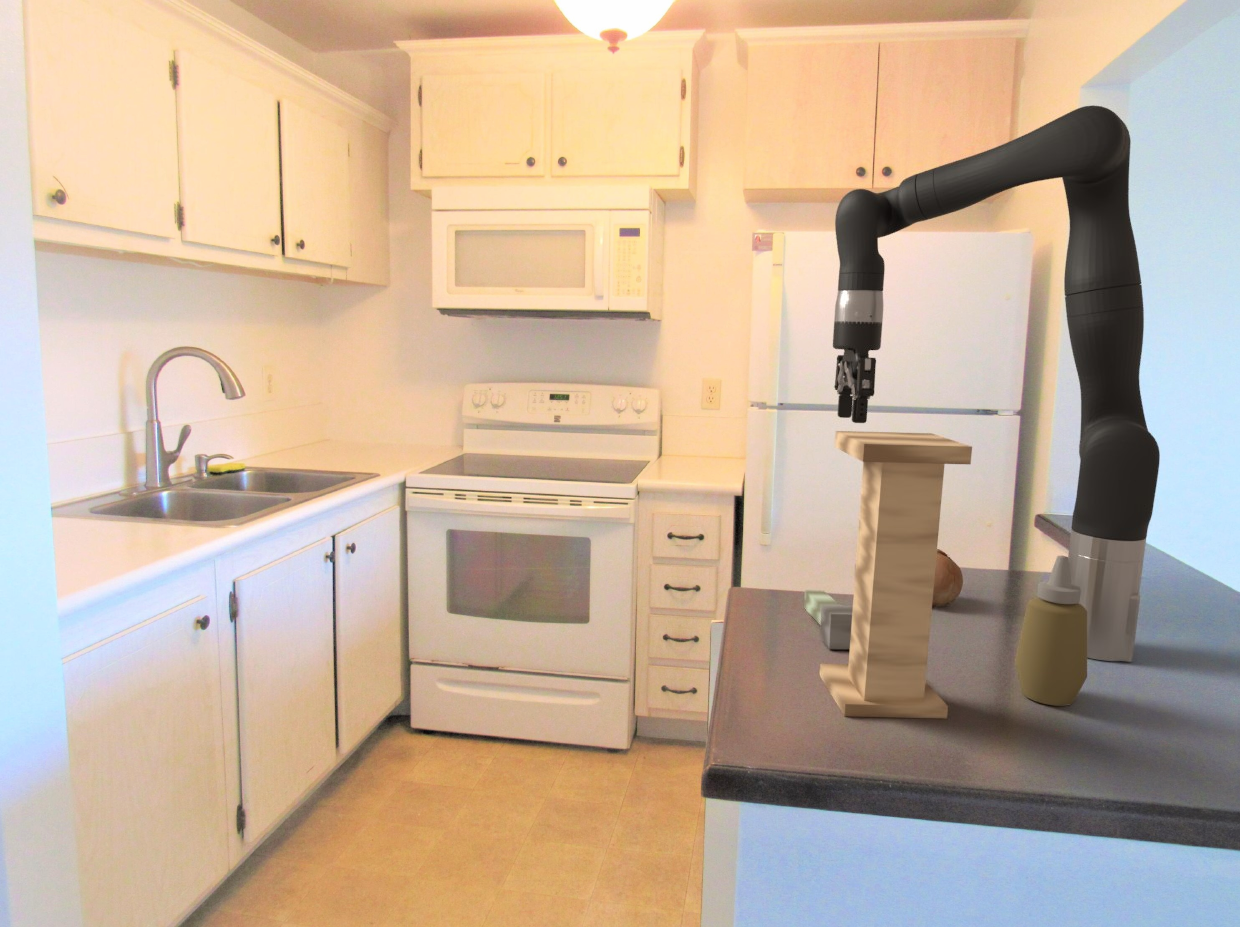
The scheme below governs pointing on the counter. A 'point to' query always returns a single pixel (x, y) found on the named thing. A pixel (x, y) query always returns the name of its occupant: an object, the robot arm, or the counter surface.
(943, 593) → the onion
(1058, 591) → the squeeze bottle
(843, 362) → the robot arm
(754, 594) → the counter surface
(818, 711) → the counter surface
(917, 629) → the stand
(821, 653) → the counter surface
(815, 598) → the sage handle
